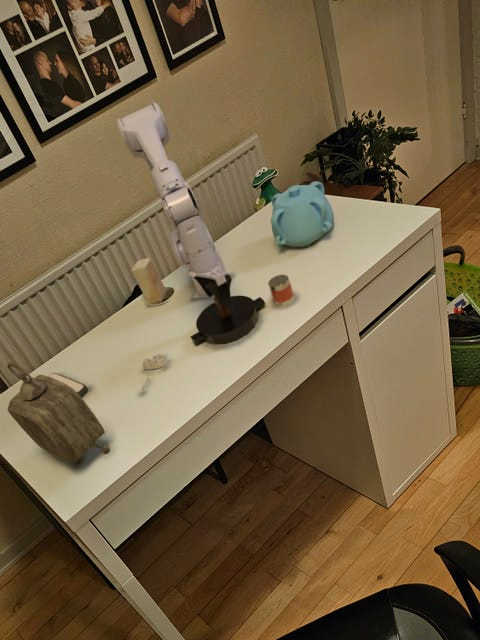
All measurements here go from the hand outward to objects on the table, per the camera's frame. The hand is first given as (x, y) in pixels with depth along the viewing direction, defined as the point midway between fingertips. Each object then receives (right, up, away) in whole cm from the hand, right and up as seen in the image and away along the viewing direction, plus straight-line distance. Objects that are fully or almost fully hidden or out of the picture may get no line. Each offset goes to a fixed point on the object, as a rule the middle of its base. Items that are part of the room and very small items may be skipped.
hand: (219, 300), depth 123 cm
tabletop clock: (-28, -34, -9) cm, 45 cm away
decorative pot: (+22, +23, +24) cm, 40 cm away
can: (+15, +1, +6) cm, 16 cm away
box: (-18, +6, +27) cm, 33 cm away
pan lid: (+1, -3, +3) cm, 4 cm away
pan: (+2, -5, +5) cm, 8 cm away
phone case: (-39, -21, +10) cm, 46 cm away
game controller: (-16, -17, +2) cm, 23 cm away
